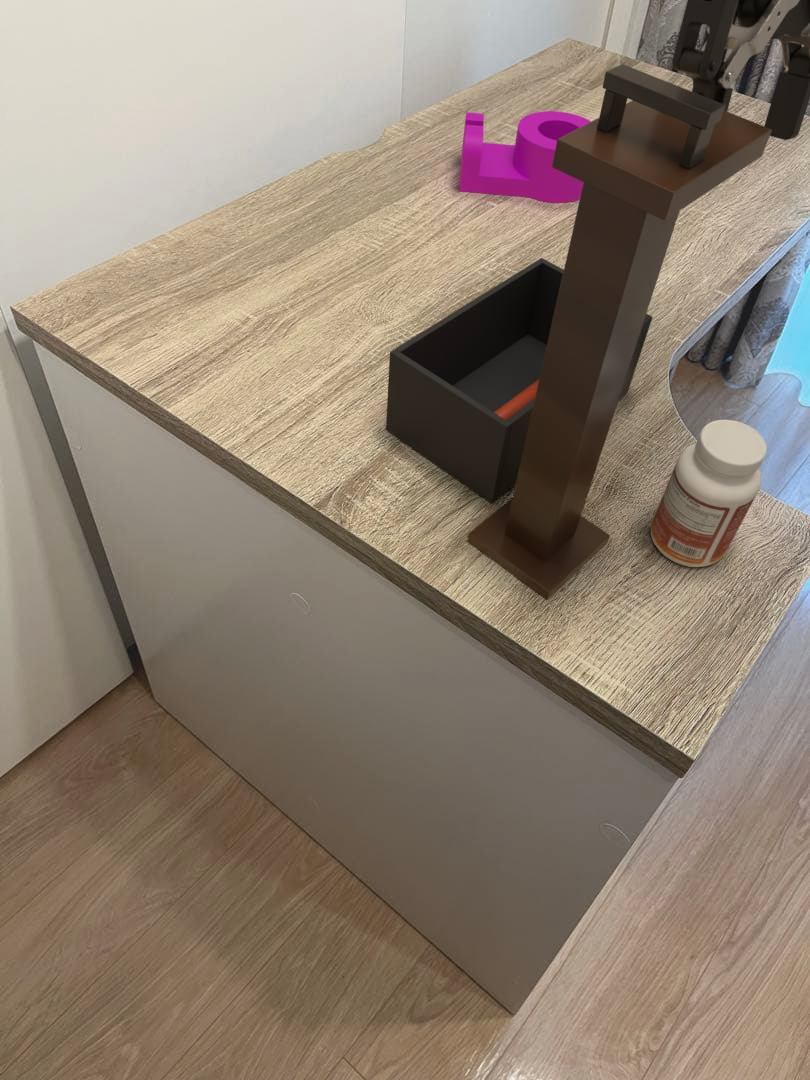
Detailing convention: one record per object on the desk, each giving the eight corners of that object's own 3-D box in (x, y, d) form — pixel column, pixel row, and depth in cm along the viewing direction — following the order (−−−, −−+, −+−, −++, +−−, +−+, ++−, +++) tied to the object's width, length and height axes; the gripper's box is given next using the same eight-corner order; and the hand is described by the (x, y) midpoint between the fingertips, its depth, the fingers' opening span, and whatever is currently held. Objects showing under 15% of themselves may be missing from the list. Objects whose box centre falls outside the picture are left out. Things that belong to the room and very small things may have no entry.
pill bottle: (705, 507, 72) (753, 407, 64) (738, 564, 68) (795, 466, 60) (636, 516, 71) (676, 416, 63) (666, 575, 67) (713, 477, 59)
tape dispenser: (587, 165, 109) (598, 115, 104) (592, 206, 103) (605, 154, 98) (461, 154, 109) (466, 103, 104) (459, 194, 103) (464, 142, 98)
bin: (526, 333, 86) (541, 257, 79) (627, 393, 81) (653, 316, 74) (385, 429, 76) (389, 351, 69) (491, 504, 71) (506, 427, 64)
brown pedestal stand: (550, 472, 74) (668, 28, 47) (628, 523, 71) (802, 77, 44) (467, 541, 68) (547, 83, 42) (547, 600, 65) (689, 144, 38)
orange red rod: (560, 365, 82) (568, 355, 80) (571, 377, 81) (580, 368, 80) (441, 452, 73) (448, 443, 72) (453, 466, 73) (461, 458, 72)
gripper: (817, -196, 39) (718, 175, 50) (968, -175, 46) (854, 146, 57) (687, -197, 44) (620, 142, 54) (842, -179, 51) (757, 119, 61)
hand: (740, 144), depth 55 cm, fingers open, 8 cm apart
